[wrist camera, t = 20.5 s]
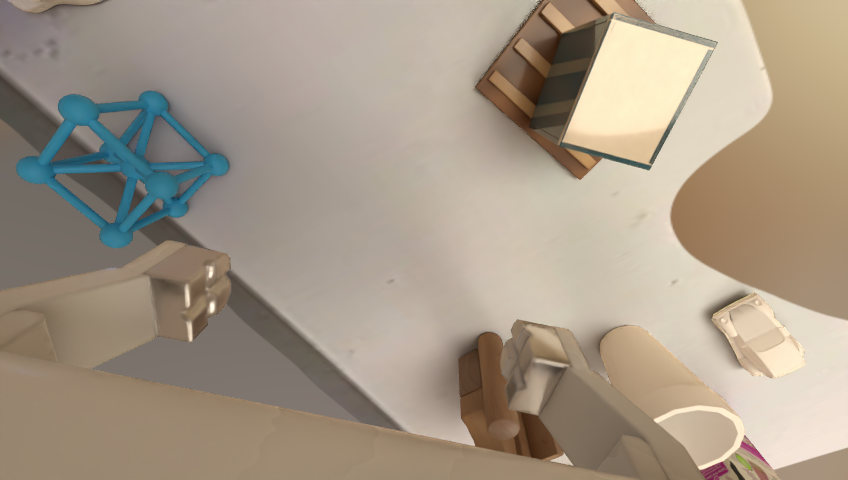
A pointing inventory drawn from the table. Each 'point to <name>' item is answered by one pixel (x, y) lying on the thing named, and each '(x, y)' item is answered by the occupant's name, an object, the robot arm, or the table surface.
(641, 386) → the foam cup
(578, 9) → the drying rack
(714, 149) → the table surface
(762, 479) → the candy bar box
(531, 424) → the wooden toy
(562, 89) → the mirrored box
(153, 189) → the molecular structure
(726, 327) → the car
